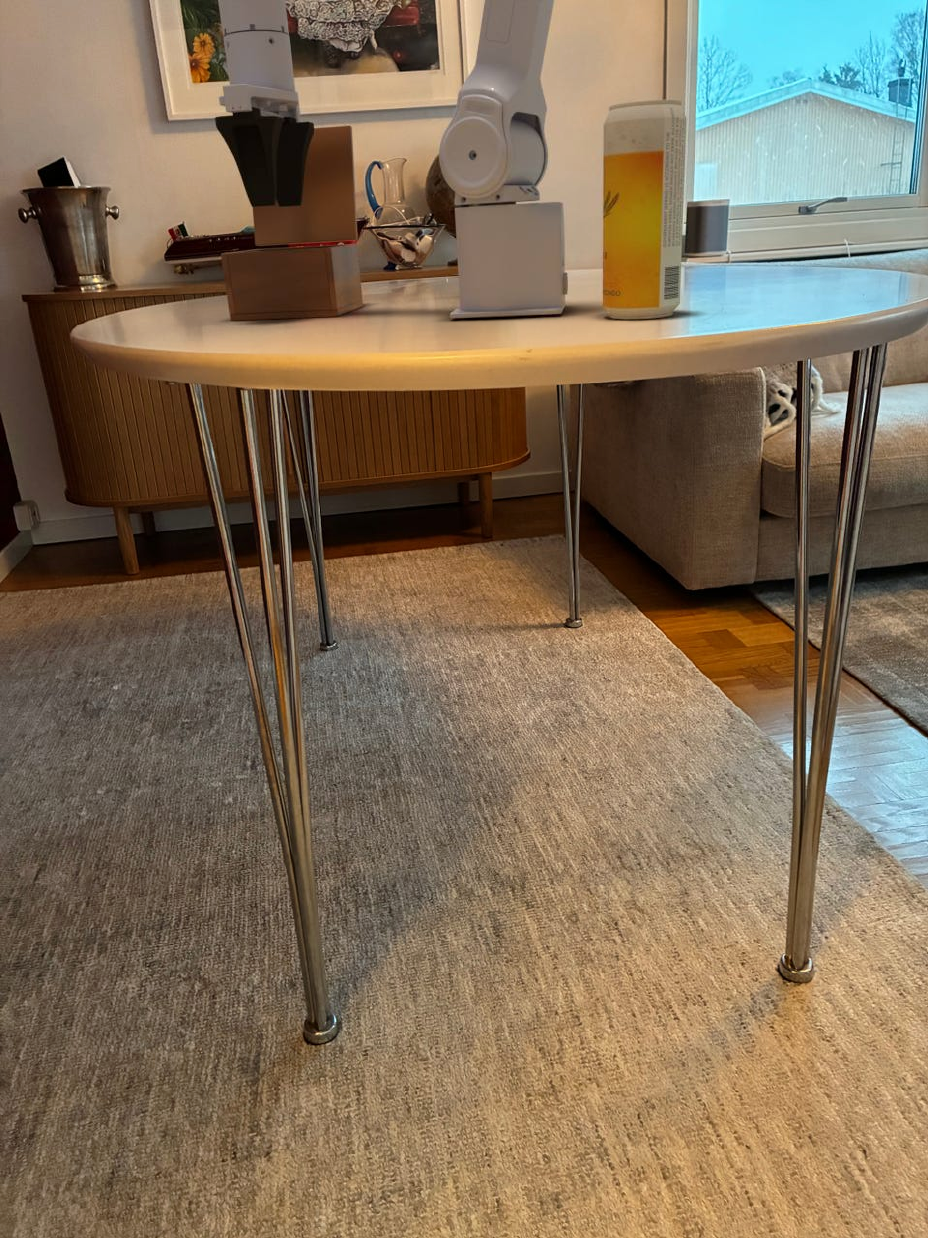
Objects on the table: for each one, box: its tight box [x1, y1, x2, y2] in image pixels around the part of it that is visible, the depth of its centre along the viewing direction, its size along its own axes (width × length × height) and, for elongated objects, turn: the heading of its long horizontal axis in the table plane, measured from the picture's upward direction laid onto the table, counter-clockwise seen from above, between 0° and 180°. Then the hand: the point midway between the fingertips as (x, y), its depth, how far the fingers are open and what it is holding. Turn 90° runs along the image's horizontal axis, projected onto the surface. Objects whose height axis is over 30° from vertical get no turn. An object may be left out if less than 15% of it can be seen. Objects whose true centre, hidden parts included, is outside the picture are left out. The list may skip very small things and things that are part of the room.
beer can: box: [602, 99, 688, 320], centre depth 72 cm, size 6×6×15 cm
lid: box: [252, 125, 359, 247], centre depth 94 cm, size 11×11×1 cm
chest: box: [220, 243, 364, 322], centre depth 92 cm, size 10×11×6 cm
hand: (277, 206), depth 87 cm, fingers open, 7 cm apart
